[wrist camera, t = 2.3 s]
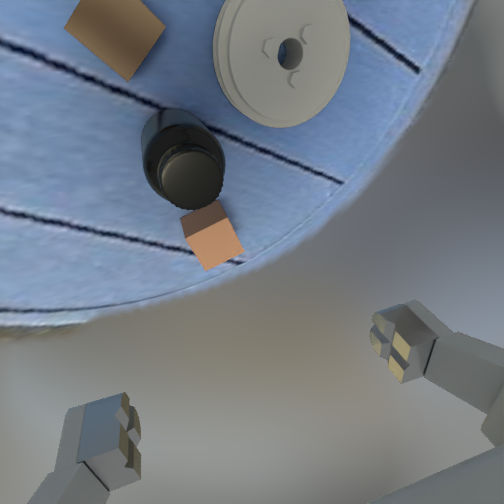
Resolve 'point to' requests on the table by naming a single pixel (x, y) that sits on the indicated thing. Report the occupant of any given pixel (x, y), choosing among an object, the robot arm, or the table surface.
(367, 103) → the table surface
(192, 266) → the table surface
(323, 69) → the light grey thick disc
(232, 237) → the terracotta block
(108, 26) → the walnut block
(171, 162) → the supplement bottle
